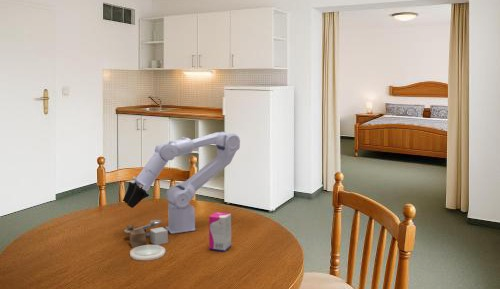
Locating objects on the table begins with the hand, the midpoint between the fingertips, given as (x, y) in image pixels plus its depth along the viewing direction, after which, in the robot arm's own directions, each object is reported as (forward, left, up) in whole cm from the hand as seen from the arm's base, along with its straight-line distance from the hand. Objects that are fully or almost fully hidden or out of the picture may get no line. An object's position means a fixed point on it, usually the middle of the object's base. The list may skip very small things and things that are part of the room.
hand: (127, 204), depth 158 cm
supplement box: (-26, +23, -12) cm, 36 cm away
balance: (-5, +1, -12) cm, 13 cm away
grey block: (-9, +9, -12) cm, 17 cm away
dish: (-3, +18, -12) cm, 22 cm away
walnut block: (-2, +8, -12) cm, 15 cm away
